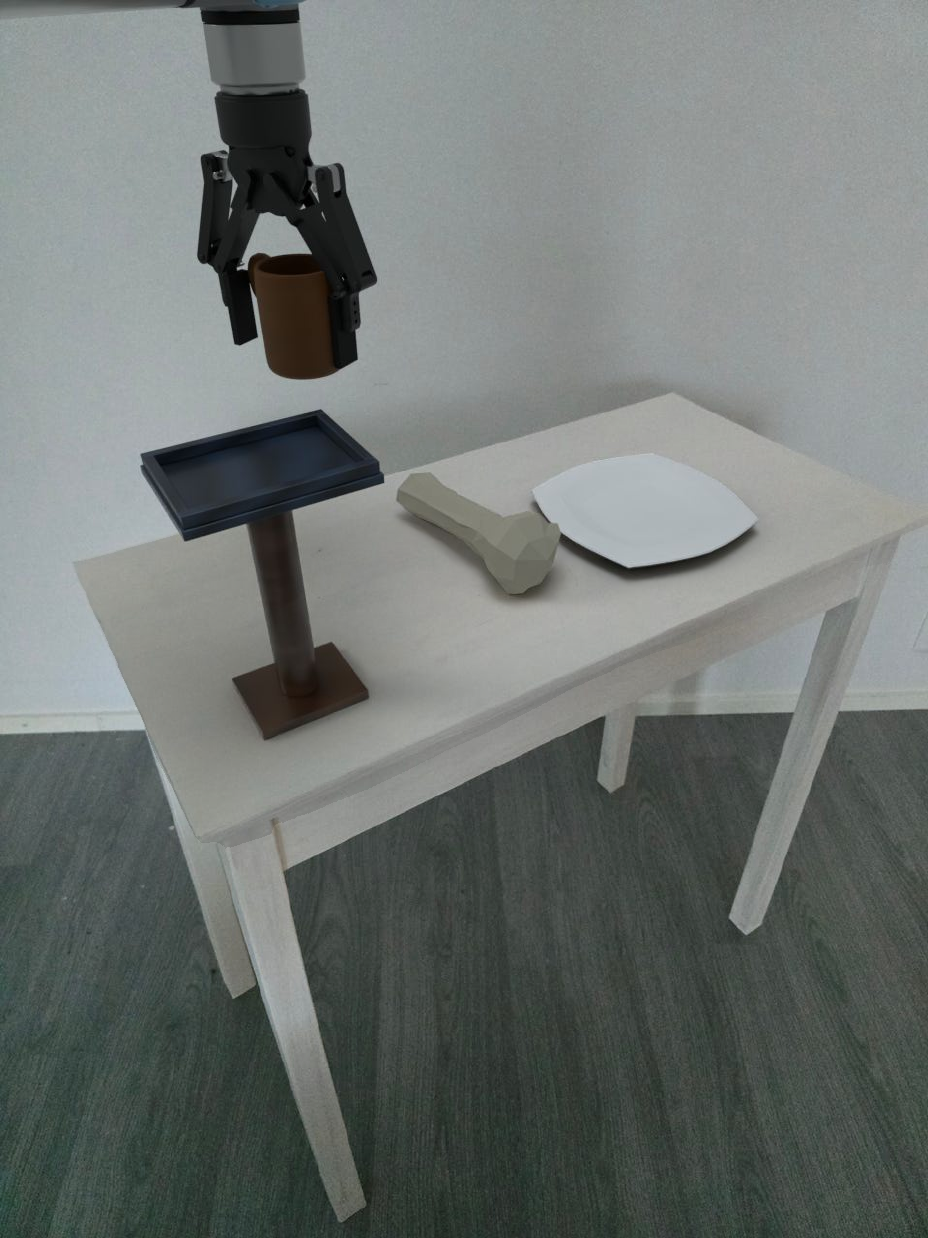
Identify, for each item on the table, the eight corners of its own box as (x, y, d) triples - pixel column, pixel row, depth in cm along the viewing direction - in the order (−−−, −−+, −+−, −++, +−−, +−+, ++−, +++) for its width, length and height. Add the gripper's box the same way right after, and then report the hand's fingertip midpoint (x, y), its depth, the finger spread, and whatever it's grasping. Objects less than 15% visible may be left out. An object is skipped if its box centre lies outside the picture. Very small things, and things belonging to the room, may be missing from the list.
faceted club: (507, 612, 83) (369, 520, 100) (565, 599, 89) (425, 514, 105) (525, 530, 80) (379, 448, 96) (585, 522, 85) (437, 446, 101)
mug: (229, 352, 83) (212, 252, 77) (295, 334, 87) (282, 238, 81) (295, 388, 76) (281, 281, 70) (362, 367, 80) (355, 264, 74)
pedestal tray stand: (242, 763, 69) (178, 519, 55) (201, 686, 77) (136, 452, 62) (401, 697, 75) (383, 461, 61) (349, 631, 83) (322, 406, 68)
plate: (505, 500, 102) (505, 486, 101) (652, 455, 111) (655, 441, 110) (622, 598, 87) (624, 583, 85) (783, 536, 96) (787, 522, 94)
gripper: (410, 90, 65) (419, 361, 79) (184, 75, 75) (228, 320, 88) (354, 102, 60) (374, 389, 74) (119, 84, 70) (176, 342, 83)
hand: (294, 352), depth 81 cm, fingers closed on mug, 12 cm apart
